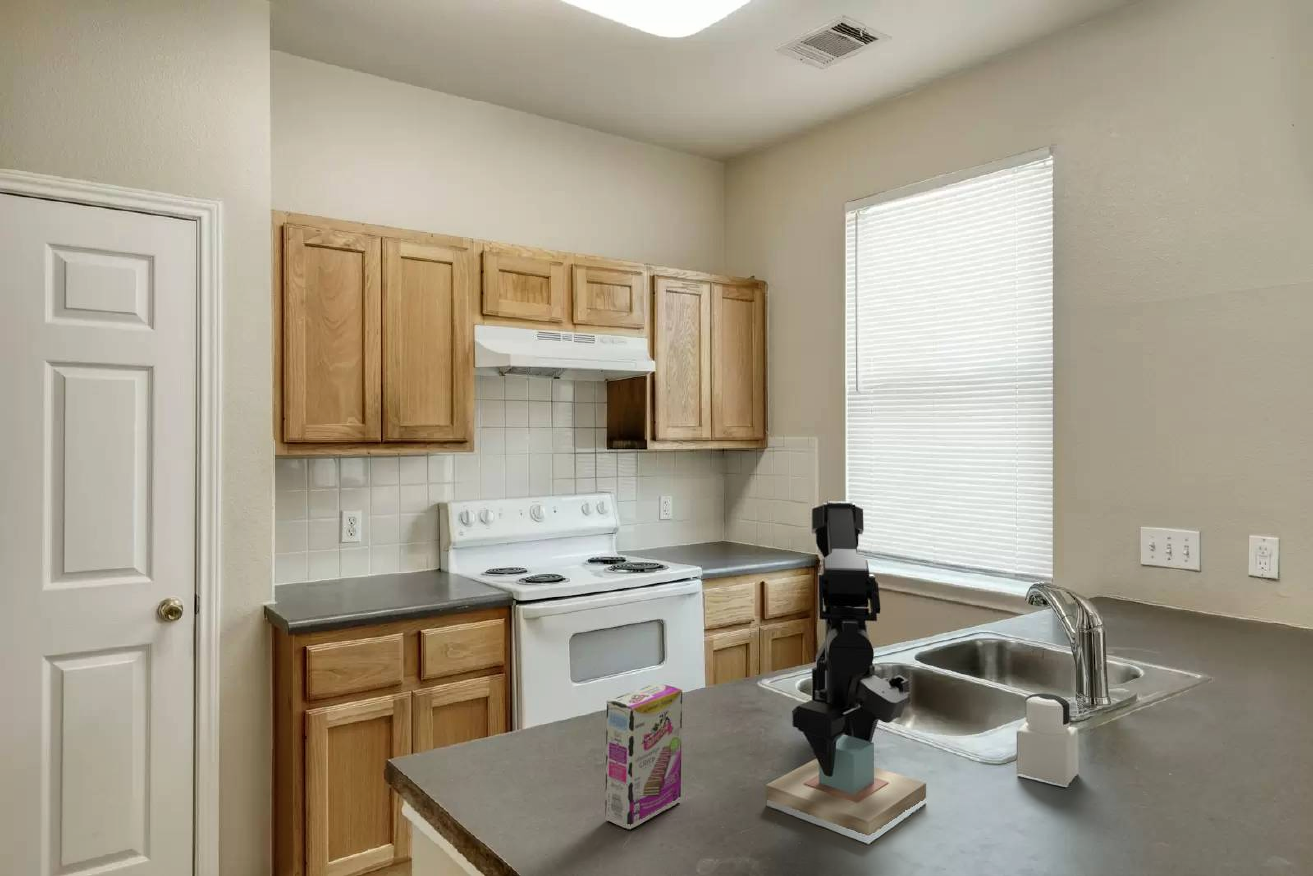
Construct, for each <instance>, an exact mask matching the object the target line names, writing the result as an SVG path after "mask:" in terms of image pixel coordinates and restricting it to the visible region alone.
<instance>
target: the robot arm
mask: <svg viewBox="0 0 1313 876" xmlns="http://www.w3.org/2000/svg"><path fill="white" fill-rule="evenodd" d="M864 529H865V528H864V509H863V508H860V507H858V506H856V502H852V501H848V500H844V501H840V500H830V501H829V500H828V501H826V502H823V505H820V506H816V507H813V508H811V534H814V535H815V543H816V547H817V548H818V550H819V552H820V553H821V555H822V556H823V559H822V572H819V573H817V575H818V576H817V577H818V578H817V583H818V584H817V592H818V593H817V594H818V617H819V620H824V642H823V643H822V645H821V647H820V648H819V650H818V652H817V653H816V654H815V666H812V667H811V700H809V701H806V702H804V703H801V704H799V705H797V706H796V707H795V708H794V709H793V710H791V725H792V727H793V728H797V730H798V731H799V732H802V733H803V735H804V737H805V738H806V740H807V742H808V744H809V746H810V747H811V749H812V752H813V754H814V756H815V759H817V760H818V762H819V764H820V767H821V769H822V771H823V773H824V775H826V776H828V777H831V776H833V770H834V762H835V752H836V742H837V740H838V739H839V738H840V737H841V736H842V735H848V736H851V737H855V738H858V739H862V740H865V741H869V742H872V740H873V738H874V734H875V731H876V728H877V726H878V722H879V721H880V722H883V723H887V724H889V723H892V722H893V721H894V720H896V719H899V718H901V717H902V715H903V713H904V710H905V706H906V705H908V704H909V703H911V702H912V699H911V697H910V696H911V692H910V687H909V685H910V684H909V680H908V679H907V678H905V677H904V676H902V675H901V674H898V675H896V676H895V677H893V678H891V679H890V680H888V678H887V677H884V678H880V677H879V676H877V675H876V667H875V665H874V657H875V656H874V655H875V653H874V651H875V650H874V648H873V646H872V645H873V644H872V642H871V639H870V637H869V634H868V627H867V626H868V623H867V622H877V621H878V617H877V616H878V615H877V614H881V600H880V589H879V582H877V580H876V576H875V574H870V569H869V563H868V560H867V559H866V558H864V557H863V556H861V555H860V554H859V552H858V547H859V535H863V534H864V533H863V532H864ZM869 606H870V608H868V607H869Z"/></svg>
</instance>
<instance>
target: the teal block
mask: <svg viewBox="0 0 1313 876" xmlns="http://www.w3.org/2000/svg"><path fill="white" fill-rule="evenodd" d="M874 767H875V743H874V742H872V741H871V742H869V741H865V740H862V739H858V738H855V737H851V736H848V735H842V736H841V737H840V738H839V739H838V740H837V742H836V752H835V762H834V770H833V776H831V777H828V776H826V775H824V773H823V771H822V769H821V767H820V764H819V783H821V784H824V785H827V786H830V787H833V788H836V789H839V790H842V791H845V792H848V793H851V794H855V793H857V792H859V791H860V790H862V789H864V788H865V787H867V786H869V785H870V784H872V783H873V782H874Z"/></svg>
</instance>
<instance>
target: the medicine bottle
mask: <svg viewBox="0 0 1313 876" xmlns="http://www.w3.org/2000/svg"><path fill="white" fill-rule="evenodd" d="M1070 706H1071V705H1070V703H1069V702H1068V700H1066V699H1065V698H1063V697H1061V696H1059V695H1056V694H1051V693H1043V692H1042V693H1041V692H1040V693H1033V694H1030V695H1028V696H1027V697H1026V698H1025V722H1024V724H1023V725H1022V726H1020V727H1019V728H1018V729H1017V730H1016V775H1017V774H1023V775H1026V776H1030V777H1033V778H1039V779H1042V780H1045V781H1048V782H1052V783H1057V784H1062V785H1066V786H1067V785H1068V784H1069V783H1070V782H1071V781H1072V779H1073V778H1074V777H1075V776H1076V777H1077V775H1078V774H1079V729H1078V728H1077V727H1074V726H1070ZM1077 773H1078V774H1077ZM1076 774H1077V775H1076ZM1076 777H1075V778H1076ZM1075 778H1074V779H1075ZM1072 782H1073V781H1072ZM1072 782H1071V783H1072Z"/></svg>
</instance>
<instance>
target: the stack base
mask: <svg viewBox="0 0 1313 876" xmlns="http://www.w3.org/2000/svg"><path fill="white" fill-rule="evenodd" d="M925 798H926V799H927V782H924V781H921V780H917V779H915V778H911V777H908V776H905V775H902V774H898V773H896V772H891V771H888V770H885V769H882V768H878V767H876V766H874V782H873V783H872V784H870V785H869V786H867V787H865V788H864V789H862V790H860V791H859V792H857V793H855V794H851V793H848V792H845V791H842V790H839V789H836V788H833V787H830V786H827V785H824V784H821V783H819V762H818V760H817V758H815V759H813V760H810V761H809V762H807V763H805V764H803V765H802V766H799V767H798V768H796V769H793V770H791V771H790V772H787V773H786V774H783V775H782V776H780V777H778V778H776V779H774V780H773V781H770V782H769V783H766V785H765V800H766V799H767V800H770V801H774V802H777V803H778V804H781V805H783V806H787V807H791V808H792V809H795V810H799V811H800V812H803V813H806V814H808V815H812V816H814V817H816V818H818V819H823V820H826V821H828V822H831V823H833V824H837V825H839V826H842V827H845V828H847V829H851V830H854V831H856V832H858V833H862V834H865V835H868V836H869V835H871V834H872V833H875V832H876V831H877V830H878V829H881V828H882V827H883V826H884V825H886V824H888V823H889V822H890V821H892V820H893V819H895V818H897V817H898V816H899V815H901V814H902V813H903V812H905V810H908V809H910V808H911V807H913V806H915V805H916V804H918V803H919V802H920V801H923V800H924V799H925Z"/></svg>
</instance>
